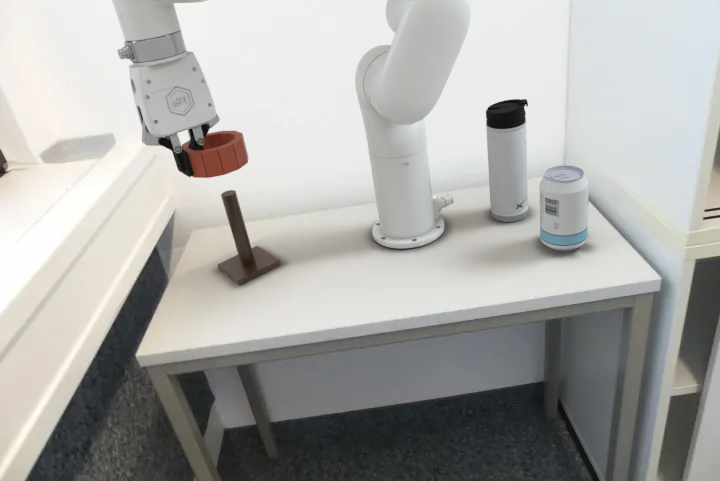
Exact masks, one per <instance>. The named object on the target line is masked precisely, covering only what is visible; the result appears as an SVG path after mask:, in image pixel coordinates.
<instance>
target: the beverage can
mask: <svg viewBox="0 0 720 481" xmlns="http://www.w3.org/2000/svg"><path fill="white" fill-rule="evenodd" d="M543 174H544V175H543V177H542V179H541V180H540V182H539V233H540V234H539V237H540V238H539V239H540V242H541V243H542V244H543V245H545V246H546V247H548V248H549V249H551V250H553V251H555V252H571V251H575V250H576V249H578V248H579V247H582V246H583V245H585V244H586V242H587V241H588V230H589V229H588V227H589V226H588V225H589V224H588V223H589V196H590V194H589V191H590V182H589V180H588V178H587V177H586V175H585V170H583V168H581V167H578V166H575V165H568V164H567V165H555V166H553V167H550V168H548V169H546V170H545V171H544V173H543Z"/></svg>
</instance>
